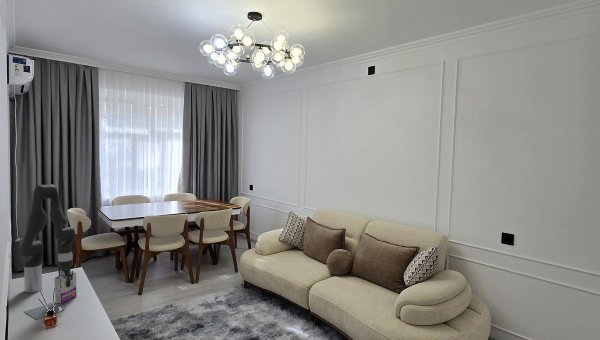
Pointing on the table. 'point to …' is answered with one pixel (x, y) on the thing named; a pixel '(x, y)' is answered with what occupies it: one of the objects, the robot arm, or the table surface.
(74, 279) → the candy bar box
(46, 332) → the table surface
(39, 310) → the mat
